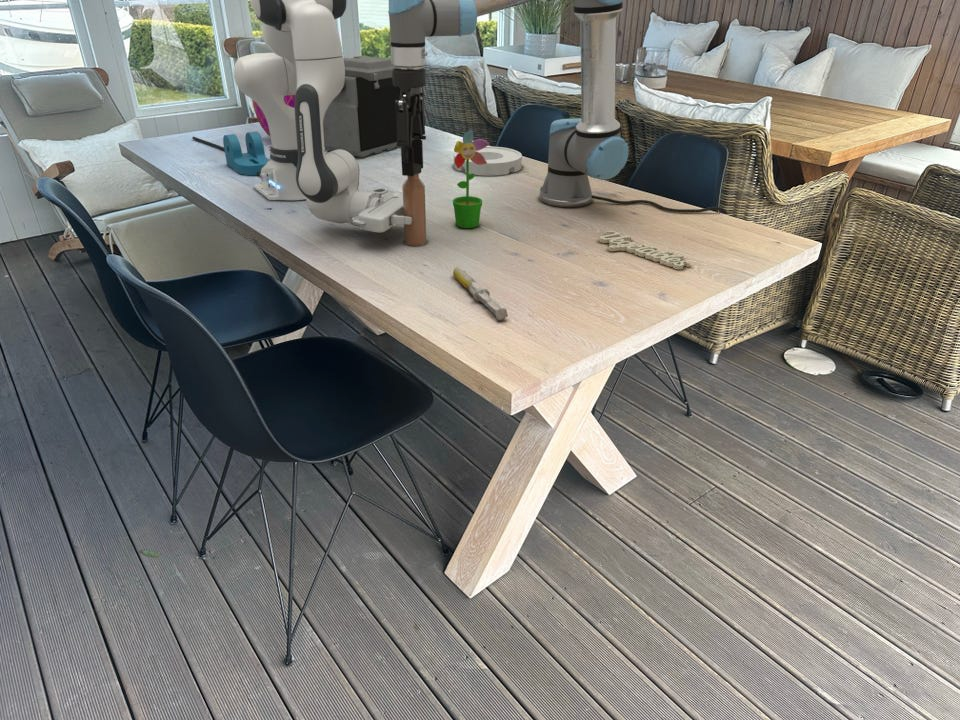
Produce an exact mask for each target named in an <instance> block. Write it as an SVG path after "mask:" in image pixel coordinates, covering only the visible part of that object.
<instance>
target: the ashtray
mask: <svg viewBox="0 0 960 720" xmlns="http://www.w3.org/2000/svg"><path fill="white" fill-rule="evenodd" d="M477 152H479V153H480V154H482V156H483V157H484V158H485V160H486V162H487V163H486V164H482V165H478V164H475V163H474V162H472V161H471V159H469V174H475V176H483V177H485V176H487V177H489V176H490V177H491V176H492V177H493V176H503V175H504V176H505V175H509V174H510V173H517V172H519V171H520V170H521V169H522V165H523V164H522V163H523V162H522V161H523V154H522V153H521V152H520V151H518V150H515V149H513V148H509V147H502V146H490V145H488V146H486V147H485V148H483V149H481V150H478V151H477ZM457 154H459V153H457V152H455V151H454V152H453V169H455V170H456V171H458V172H464V173H465V174H466V159H465V162H464V164H463V165H462V166H461V167H460V168H457V166H456V164H455V157H456V156H457Z"/></svg>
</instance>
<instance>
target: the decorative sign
mask: <svg viewBox="0 0 960 720" xmlns="http://www.w3.org/2000/svg"><path fill="white" fill-rule="evenodd" d="M599 243H602V244H608V245H609V246H608V252H619V251H623V252H625V251H626V252H627V253H630V254H634V255H635V256H638V257H640V258H645V259H646V260H651V261H653V262H659V264H661V265H665V266H666V267H671V268H672V269H674V270H683V269H684V267H686V268H689V267H690V261H689V260H685V259H684V258H685V257H684V254H675V253H674V251H672V250H664V251H659V250H658V247H655V246H654V245H648V244H646V243H643V244H638V243H636V242H632V236H631V235H622V236H620V232H618V231H614V230H606V234H605V235H601V236H600V237H599Z"/></svg>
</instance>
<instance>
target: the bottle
mask: <svg viewBox="0 0 960 720" xmlns="http://www.w3.org/2000/svg"><path fill="white" fill-rule="evenodd" d="M406 177H407V178H406V179H405V181H404V182H403V183H402V186H401V187H402V189H401V190H402V193H403V211H404V216H406V215H409V216H413V223H412V224H410V225H408V224H403V228H404V229H403V230H404V231H403V232H404V243H405V245H407V246H412V247H418V246H424V245H426V244H427V215H426V210H427V209H426V186H425V185H426V184H425V183H424V182H423V181H422V179H421V178H420V174H414V176H406Z"/></svg>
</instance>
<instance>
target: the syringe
mask: <svg viewBox="0 0 960 720" xmlns="http://www.w3.org/2000/svg"><path fill="white" fill-rule="evenodd" d="M452 274H453V277H454V279H455V280H457V281H458V282H459V283H460V285H462V287H464V289H466V290H467V291H468V293H470V295H471V296H472V298H473V300H474V302H477V303H478V302H480V303H482V304H483V305H484V306H485V307H486V308H487V309H488V310H489V311H490V312H491V313H492V314H493V315H494V316H495V317H496V320H497V321H503V320H504V319H506V318H507V317H509V314H508V310H507V308H506V307H502V306H501V305H500V303H498V302H497V301H496V300H494V299H493V298H492V297H491V296H490V295H491V293H490V290H488V289H486V288H483V287H482V286H481V285H480V284H479V283H478V282H477V281H476V280H474V278H473V277H471V275H469V274H468V273H467V272H466V270H465V269H464V268H463V267H462V266H456V267H454V268H453V271H452Z"/></svg>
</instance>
